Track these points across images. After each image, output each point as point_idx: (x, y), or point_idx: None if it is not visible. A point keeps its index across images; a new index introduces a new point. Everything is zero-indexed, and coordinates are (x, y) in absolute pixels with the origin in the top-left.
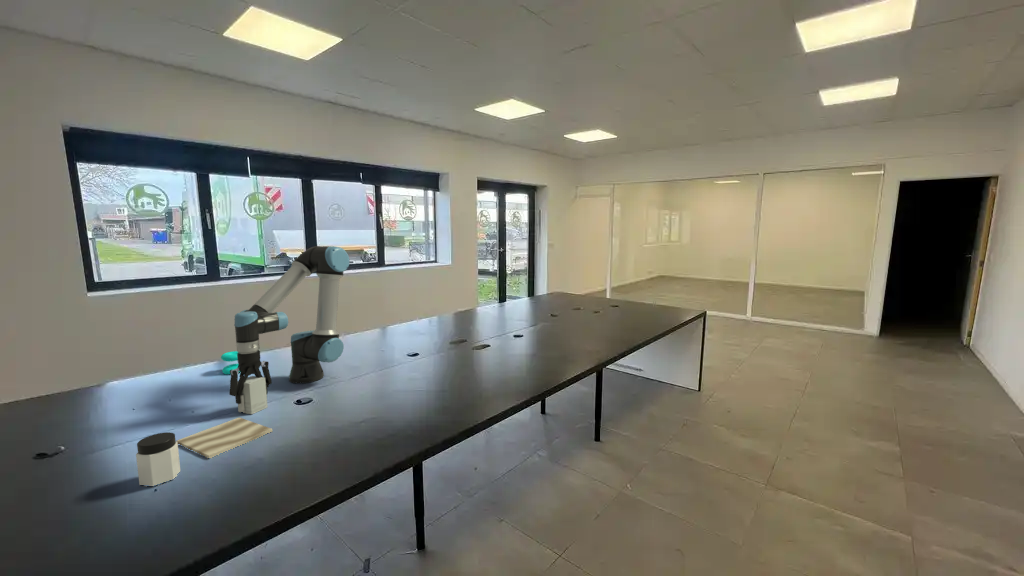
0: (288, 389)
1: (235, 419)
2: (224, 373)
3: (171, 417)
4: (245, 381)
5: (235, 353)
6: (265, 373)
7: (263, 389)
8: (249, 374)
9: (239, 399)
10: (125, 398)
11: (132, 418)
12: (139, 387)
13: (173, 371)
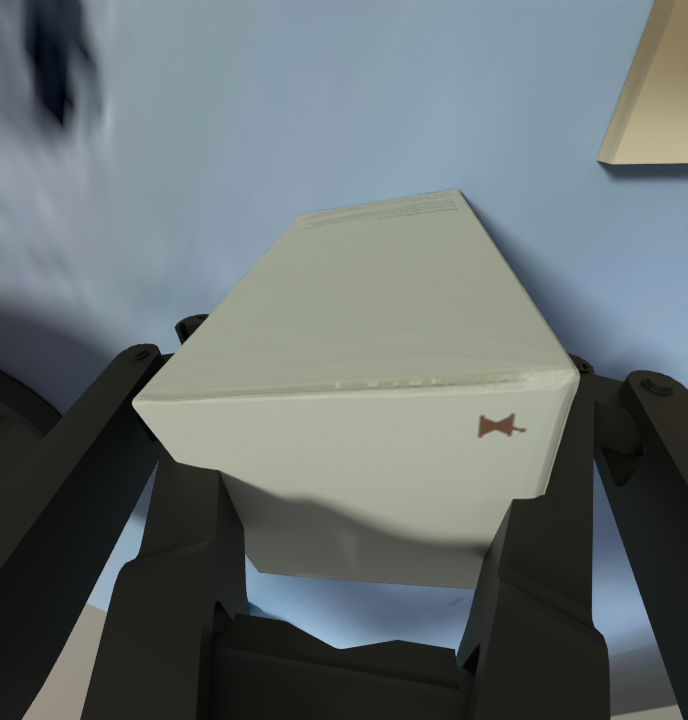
0: (99, 375)
1: (676, 139)
2: (250, 612)
3: (604, 524)
4: (511, 513)
5: None
6: (78, 511)
7: (272, 281)
8: (405, 672)
9: None
10: None
11: (631, 594)
12: None
13: None
